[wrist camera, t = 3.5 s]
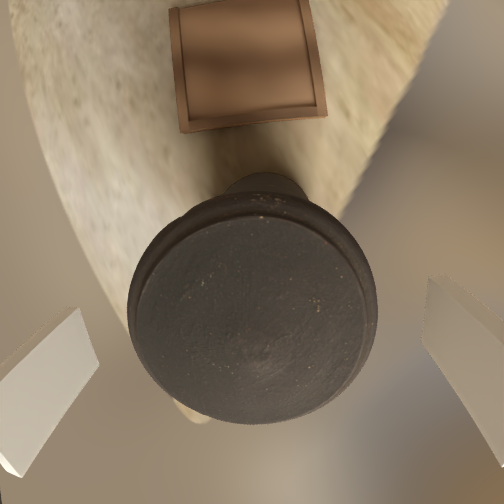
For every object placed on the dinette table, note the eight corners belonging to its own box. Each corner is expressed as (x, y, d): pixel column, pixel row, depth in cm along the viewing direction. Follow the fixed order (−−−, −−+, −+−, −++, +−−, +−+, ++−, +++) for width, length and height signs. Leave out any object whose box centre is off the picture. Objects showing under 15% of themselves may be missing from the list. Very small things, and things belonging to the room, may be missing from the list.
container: (194, 227, 29) (76, 354, 10) (256, 147, 27) (224, 129, 7) (268, 284, 30) (264, 468, 11) (333, 210, 28) (444, 323, 9)
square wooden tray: (174, 16, 23) (168, 9, 21) (304, -2, 22) (306, -10, 20) (185, 133, 26) (180, 132, 25) (324, 117, 25) (327, 115, 24)
